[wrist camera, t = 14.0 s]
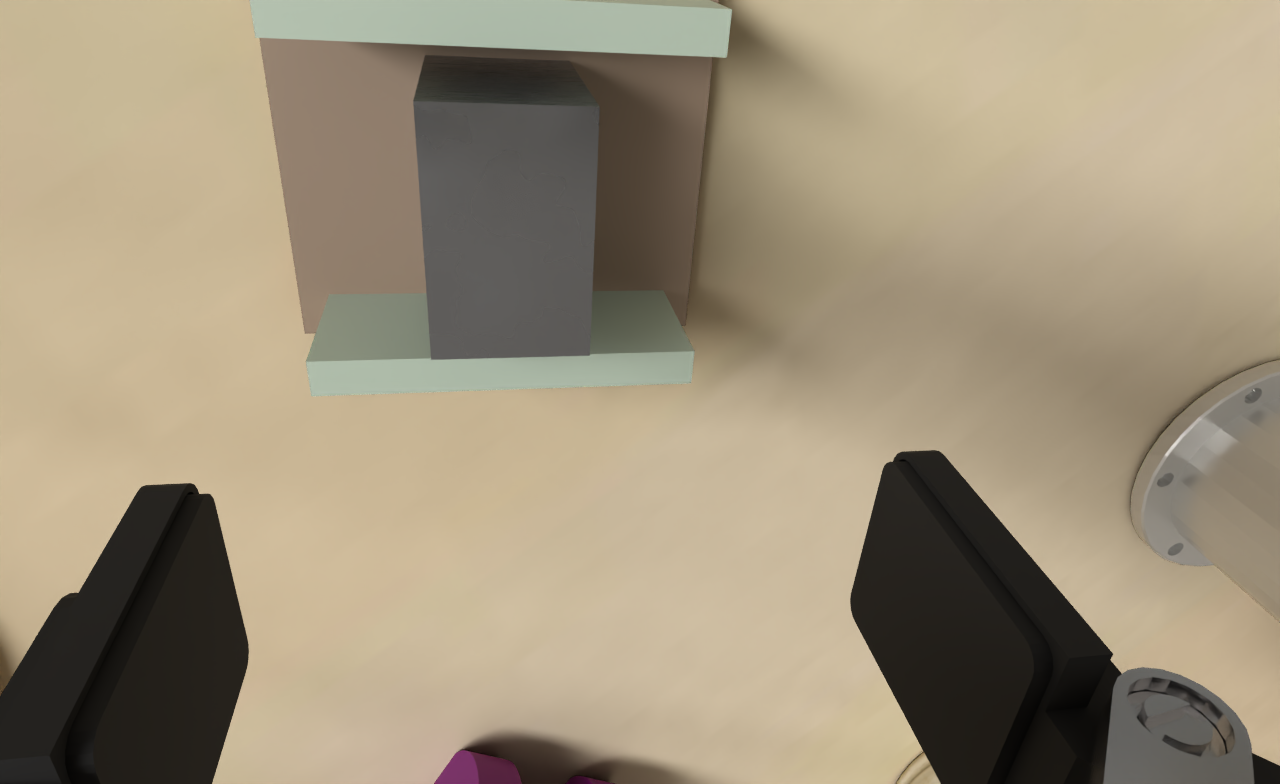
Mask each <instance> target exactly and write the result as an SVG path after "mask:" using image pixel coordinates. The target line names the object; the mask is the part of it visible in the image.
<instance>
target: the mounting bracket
mask: <svg viewBox="0 0 1280 784" xmlns="http://www.w3.org/2000/svg"><path fill="white" fill-rule="evenodd" d="M434 784H522V783H521V779H520V775H519V772H518V770H517V768H516V766H515V765H514V764H513V763H512V762H511V761H509V760H506V759H502V758H497V757H493V756H488V755H484V754H479V753H475V752H470V751H465V750H462V751H459V752H457V753H456V754H455V755H454V756H453V758H452V759H451V761H450V762H449V763H448V765H447V766H446V768H445V769H444V770H443V772H442V773H441V775H440V776H439V777H438V779H437V780H436V782H435V783H434ZM566 784H615V783H610V782H606V781H601V780H597V779H592V778H588V777H583V776H575V777H572V778H570V779H569V780H568V782H567V783H566Z"/></svg>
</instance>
